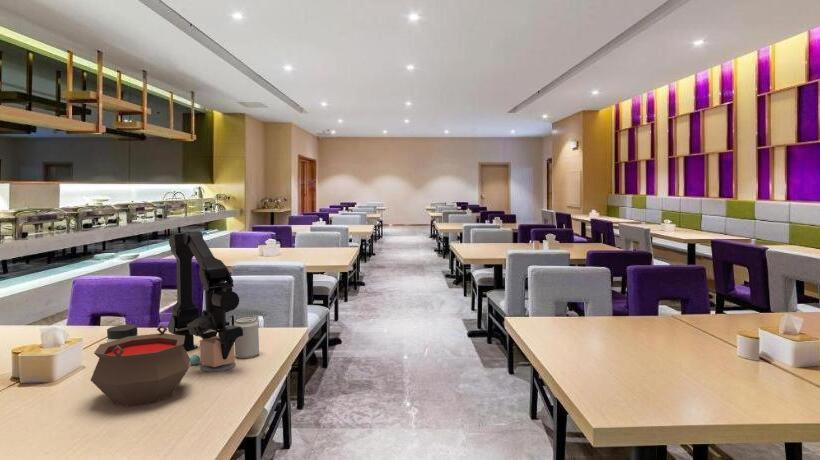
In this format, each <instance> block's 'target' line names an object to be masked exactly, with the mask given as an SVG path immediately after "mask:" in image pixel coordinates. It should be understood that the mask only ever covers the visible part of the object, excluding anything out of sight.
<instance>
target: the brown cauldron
mask: <svg viewBox="0 0 820 460" xmlns="http://www.w3.org/2000/svg"><path fill="white" fill-rule="evenodd" d="M162 329H163V330H162ZM156 331H157V332H158V333H150V334H141V335H139V334H138V336H129V337H125V338H122V339H118V340H115V341H111V342H107V341H106V342H105V343H104V342H103V343H100V344H99V346H98V347H97V348H96V350H95V351H94V352H93V354H94V355H95V356H97V358H98V361H97V363H96V365H95V368H94V371H93V374H92V376H91V377H90V382H91V383H93V384H94V386H96V387H97V388H98V389H99V390H100V391H101V392H102V393H103V394H104V395H105V396H106V398H108V399H109V400H110V401H111V402H112V403H113V404H116V405H121V406H126V407H135V406H140V405H141V406H142V405H149V403H150V404H155V403H157V402H159V401H162V400H164V399H167V398H169V397H171V395H172V396H173V394H174V392H175V390H176V389H177V388H178V386H179V385H180V383H181V382H182V380H183V378H184V377H185V375H186V374H187V372H188V370H189V369H190V364H191V363H190V358H191V357H190V356H189V353H187V351H186V350H185V349H184V347H183V344H184V339H185V336H182V335H175V334H172V333H166V332H167V331H168V327H166V326H165V325H164V324H162V323H161V324H160V325H159V326H158V327H157V328H156Z"/></svg>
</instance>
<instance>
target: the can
mask: <svg viewBox="0 0 820 460" xmlns="http://www.w3.org/2000/svg"><path fill="white" fill-rule="evenodd" d="M233 325H235V326H240V327H241V328H243V336H240V337H238V338H236V340H235V342H234V355H235V356H236V357H237V358H239V359H252V358H255V357H257V356H258V354H259V353H260V339H259V338H260V337H259V322H258V321H257V319H256V318H255V317H251V316H250V317H242V318H241V317H240V318H238V319H236V320H235V323H234V324H233Z"/></svg>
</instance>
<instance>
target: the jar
mask: <svg viewBox="0 0 820 460" xmlns="http://www.w3.org/2000/svg"><path fill="white" fill-rule="evenodd" d="M106 335H107V336H106V337H107V339H106V343H107V342H111V341H115V340H118V339H122V338H125V337H129V336H139V334H138V325H136V324H121V325H115V326H111V327H108V328H107V329H106Z"/></svg>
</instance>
